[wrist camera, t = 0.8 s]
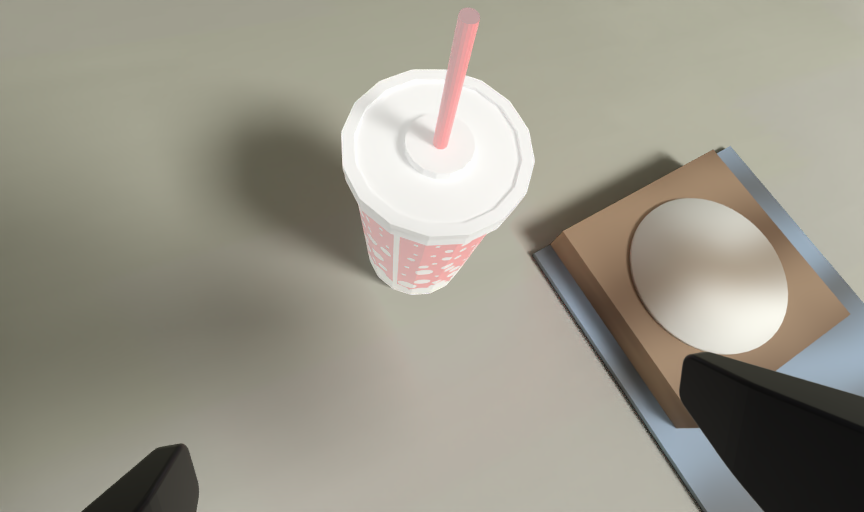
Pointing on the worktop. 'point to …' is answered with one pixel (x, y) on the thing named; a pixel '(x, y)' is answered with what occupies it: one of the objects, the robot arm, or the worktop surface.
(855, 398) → the robot arm
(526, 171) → the beverage cup
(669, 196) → the blueprint plinth
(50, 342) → the worktop surface
